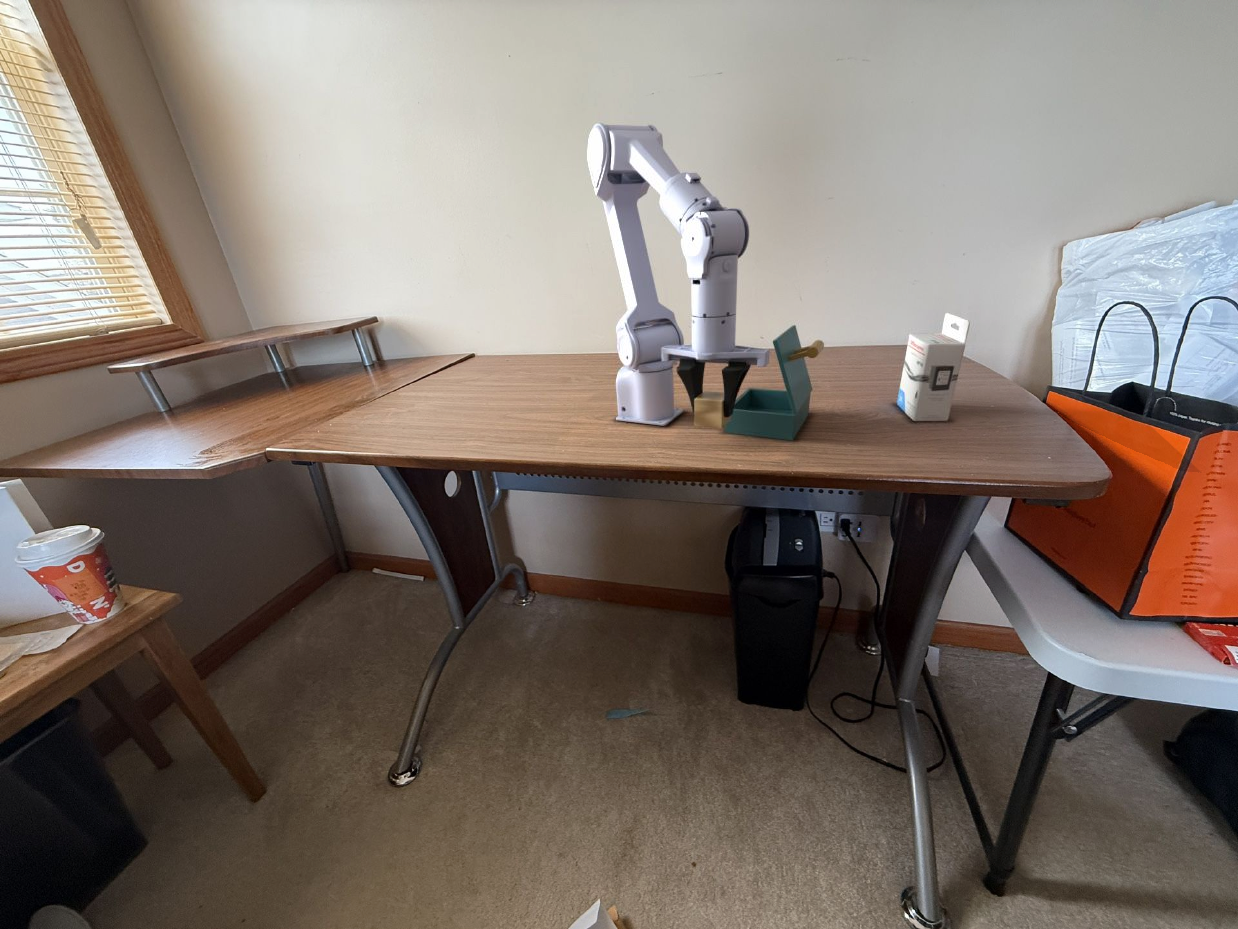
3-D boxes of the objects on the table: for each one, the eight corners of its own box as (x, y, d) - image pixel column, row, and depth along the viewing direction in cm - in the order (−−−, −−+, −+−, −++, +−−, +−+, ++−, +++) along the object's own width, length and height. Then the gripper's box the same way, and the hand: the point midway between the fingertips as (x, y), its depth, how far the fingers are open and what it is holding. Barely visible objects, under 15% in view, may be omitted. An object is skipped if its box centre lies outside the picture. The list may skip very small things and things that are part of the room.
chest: (724, 432, 75) (725, 409, 73) (747, 408, 84) (748, 387, 82) (792, 440, 70) (794, 416, 68) (808, 414, 79) (810, 392, 77)
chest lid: (772, 341, 66) (806, 330, 63) (791, 325, 75) (822, 316, 72) (792, 414, 68) (826, 407, 65) (809, 390, 78) (839, 383, 75)
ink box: (895, 404, 80) (911, 313, 74) (927, 404, 79) (946, 312, 73) (913, 421, 73) (932, 322, 67) (949, 421, 72) (972, 320, 66)
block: (694, 425, 68) (694, 398, 66) (704, 417, 71) (704, 391, 69) (721, 429, 66) (722, 401, 64) (730, 419, 69) (731, 393, 67)
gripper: (650, 318, 63) (654, 416, 68) (761, 319, 56) (755, 428, 61) (672, 310, 68) (674, 402, 74) (776, 310, 61) (769, 411, 67)
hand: (712, 413), depth 68 cm, fingers closed on block, 4 cm apart
